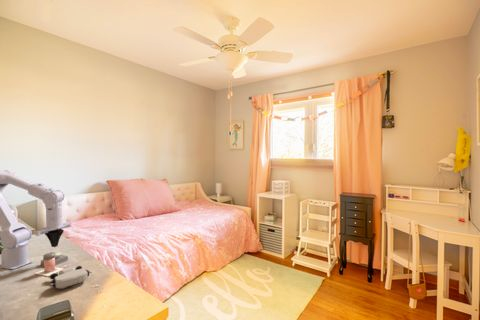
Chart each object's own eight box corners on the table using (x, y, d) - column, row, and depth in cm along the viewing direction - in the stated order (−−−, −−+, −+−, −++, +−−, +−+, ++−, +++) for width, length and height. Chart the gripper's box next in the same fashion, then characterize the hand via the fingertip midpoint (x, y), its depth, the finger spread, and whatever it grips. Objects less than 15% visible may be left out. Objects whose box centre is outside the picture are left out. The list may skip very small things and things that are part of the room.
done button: (44, 261, 105) (44, 255, 105) (56, 257, 110) (56, 251, 110) (52, 262, 103) (52, 256, 103) (64, 258, 108) (64, 252, 108)
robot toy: (46, 283, 90) (52, 296, 79) (45, 272, 90) (52, 282, 80) (83, 272, 99) (93, 282, 88) (82, 261, 99) (92, 270, 89)
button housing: (40, 264, 104) (40, 260, 104) (57, 258, 111) (57, 254, 111) (51, 266, 102) (51, 262, 102) (67, 260, 109) (67, 255, 109)
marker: (41, 272, 96) (41, 255, 96) (51, 267, 100) (51, 251, 100) (47, 273, 95) (47, 256, 95) (57, 269, 99) (57, 253, 98)
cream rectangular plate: (34, 274, 96) (34, 273, 96) (51, 267, 102) (51, 266, 102) (48, 276, 93) (48, 275, 93) (64, 269, 99) (64, 268, 99)
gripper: (42, 221, 98) (43, 253, 98) (75, 214, 112) (76, 241, 112) (31, 220, 100) (31, 251, 100) (65, 213, 114) (65, 240, 114)
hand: (54, 246), depth 106 cm, fingers closed
